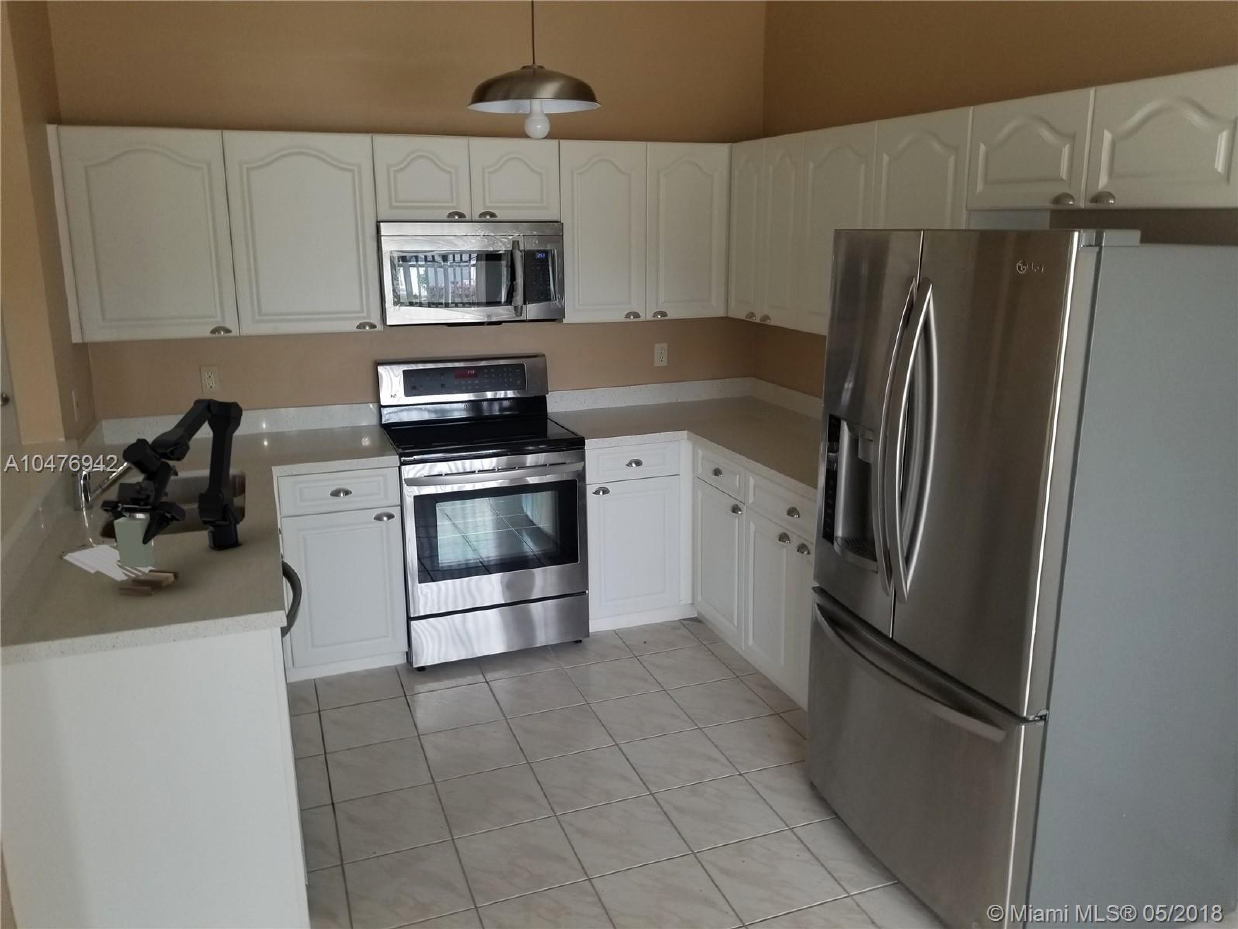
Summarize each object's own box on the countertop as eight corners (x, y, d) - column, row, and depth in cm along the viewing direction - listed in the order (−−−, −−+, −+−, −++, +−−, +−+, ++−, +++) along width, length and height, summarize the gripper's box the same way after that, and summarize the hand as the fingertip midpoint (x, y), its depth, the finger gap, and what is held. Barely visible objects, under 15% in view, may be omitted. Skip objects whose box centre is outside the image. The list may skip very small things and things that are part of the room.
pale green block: (129, 561, 217) (122, 517, 214) (154, 563, 216) (147, 518, 213) (121, 566, 214) (113, 521, 211) (146, 567, 213) (139, 522, 210)
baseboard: (108, 590, 221) (158, 575, 230) (106, 578, 221) (157, 564, 230) (57, 562, 240) (105, 549, 249) (55, 551, 240) (103, 539, 249)
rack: (152, 579, 226) (150, 569, 225) (180, 580, 225) (179, 570, 224) (119, 597, 215) (118, 587, 214) (149, 599, 214) (147, 588, 213)
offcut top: (149, 575, 224) (149, 572, 224) (173, 576, 223) (173, 573, 223) (138, 581, 220) (138, 578, 220) (163, 582, 219) (162, 579, 219)
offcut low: (150, 578, 224) (149, 575, 224) (174, 579, 223) (173, 576, 223) (139, 584, 220) (138, 581, 220) (163, 586, 219) (163, 582, 219)
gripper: (98, 465, 215) (72, 526, 207) (171, 468, 212) (147, 529, 204) (126, 489, 224) (102, 547, 216) (196, 491, 221) (174, 550, 213)
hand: (130, 543), depth 212 cm, fingers closed on pale green block, 6 cm apart
